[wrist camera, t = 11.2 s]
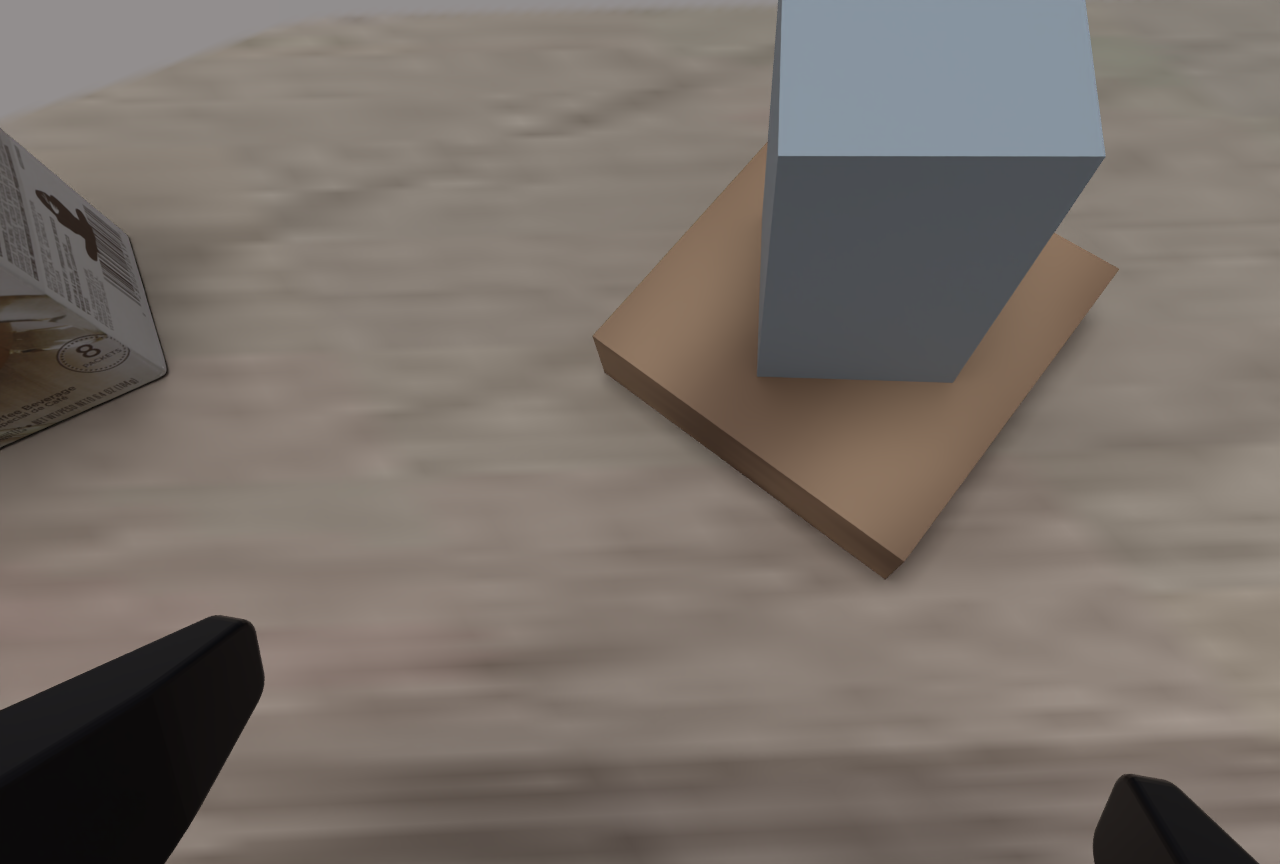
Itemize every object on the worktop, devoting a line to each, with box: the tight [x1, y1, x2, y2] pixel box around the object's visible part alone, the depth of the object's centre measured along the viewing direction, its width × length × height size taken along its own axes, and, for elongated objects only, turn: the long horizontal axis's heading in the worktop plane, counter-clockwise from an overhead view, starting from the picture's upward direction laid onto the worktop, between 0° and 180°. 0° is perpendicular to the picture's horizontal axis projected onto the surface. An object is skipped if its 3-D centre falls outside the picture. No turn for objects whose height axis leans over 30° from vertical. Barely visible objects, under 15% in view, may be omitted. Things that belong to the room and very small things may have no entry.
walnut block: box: [593, 142, 1119, 579], centre depth 24 cm, size 10×10×3 cm
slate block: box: [757, 0, 1105, 383], centre depth 18 cm, size 5×5×9 cm
